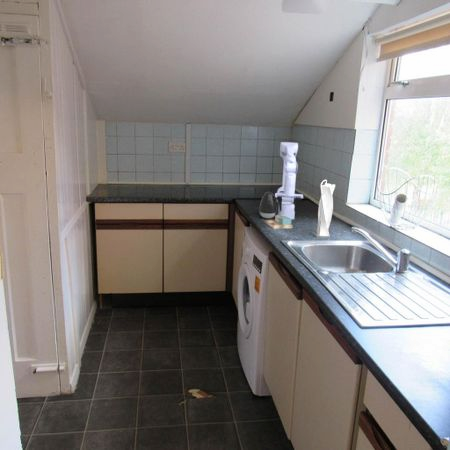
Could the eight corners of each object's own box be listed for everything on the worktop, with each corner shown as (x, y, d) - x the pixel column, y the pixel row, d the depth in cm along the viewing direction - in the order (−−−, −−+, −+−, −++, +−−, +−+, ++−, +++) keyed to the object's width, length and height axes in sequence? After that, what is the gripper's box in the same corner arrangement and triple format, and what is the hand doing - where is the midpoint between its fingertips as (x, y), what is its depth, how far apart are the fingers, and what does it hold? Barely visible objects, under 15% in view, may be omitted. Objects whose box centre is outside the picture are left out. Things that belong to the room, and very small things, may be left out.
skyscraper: (312, 233, 225) (317, 179, 219) (327, 233, 226) (333, 179, 219) (316, 237, 217) (322, 181, 210) (332, 237, 218) (338, 182, 211)
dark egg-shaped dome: (272, 220, 250) (273, 194, 246) (255, 217, 255) (257, 192, 251) (279, 217, 258) (281, 191, 254) (263, 214, 263) (264, 189, 259)
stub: (287, 222, 240) (287, 217, 239) (291, 224, 235) (291, 219, 234) (278, 222, 238) (279, 217, 238) (282, 224, 234) (283, 219, 233)
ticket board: (282, 222, 246) (283, 214, 245) (292, 228, 234) (293, 219, 233) (264, 223, 243) (265, 214, 241) (273, 228, 230) (274, 220, 229)
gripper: (276, 185, 225) (274, 211, 227) (304, 187, 224) (302, 213, 227) (275, 184, 232) (273, 209, 234) (302, 185, 231) (300, 211, 234)
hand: (287, 211), depth 231 cm, fingers open, 7 cm apart
